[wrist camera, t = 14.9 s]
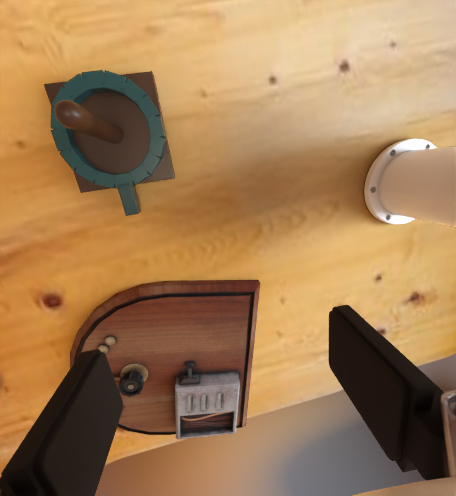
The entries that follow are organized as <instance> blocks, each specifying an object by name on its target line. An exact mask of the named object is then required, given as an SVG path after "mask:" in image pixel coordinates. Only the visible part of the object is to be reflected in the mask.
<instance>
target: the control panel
mask: <svg viewBox="0 0 456 496" xmlns="http://www.w3.org/2000/svg"><path fill="white" fill-rule="evenodd" d="M259 289H260V282H259V280H216V281H164V282H156V283H149V284H141V285H138V286H136V287H133V288H130V289H128V290H125V291H123V292H120V293H117V294H115V295H114V296H113V297H111V298H110V299H108V300H107V301H106V302H104V303H103V304H101V305H100V306H99V307H97V308H96V309H95V310H94V311H93V312H92V314H91V315H90V316H89V318H88V319H87V320H86V321H85V323H84V324H83V325H82V326H81V328H80V329H79V331H78V332H77V335H76V338H75V341H74V343H73V346H72V349H71V352H70V369H71V367H72V366H73V364H74V363H75V361H76V360H77V358H78V357H79V355H80V354H81V353H82V352H84V351H90V350H95V349H99V350H100V351H101V352H104V353H105V354H106V357H107V360H108V362H109V365H110V368H111V370H112V373H113V376H114V379H115V381H116V384H117V387H118V389H119V392H120V395H121V397H122V400H123V410H122V414H121V417H120V420H119V423H118V427H120V428H123V429H125V430H127V431H132V432H137V433H143V434H148V435H171V434H176V438H177V439H187V438H196V437H205V436H215V435H224V434H234V433H235V432H236V428H240V427H244V426H245V425H246V418H247V408H248V398H249V388H250V378H251V368H252V358H253V348H254V338H255V329H256V319H257V309H258V299H259Z"/></svg>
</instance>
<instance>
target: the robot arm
mask: <svg viewBox="0 0 456 496" xmlns="http://www.w3.org/2000/svg"><path fill="white" fill-rule="evenodd" d="M364 195H365V201H366V205H367V207H368V209H369V211H370V212H371V214H372V215H373V216H374V217H375V218H377V219H378V220H380V221H383V222H385V223H390V224H404V223H408V222H410V221H413V220H415V219H419V220H423V221H428V222H433V223H437V224H442V225H447V226H451V227H456V146H450V147H440V148H437V147H436V146H434V145H433V144H432V143H431V142H429V141H426V140H423V139H407V140H402V141H399V142H397V143H394V144H393V145H391V146H389V147H388V148H386V149H385V150H384V151H383V152H382V153H381V154H380V155H379V156H378V157H377V158H376V160H375V161H374V163H373V164H372V166H371V167H370V170H369V172H368V174H367V178H366V182H365V189H364ZM329 365H330V368H331V370H332V372H333V373H334V375H335V376H336V378H337V379H338V381H339V383H340V384H341V386H342V387H343V389H344V390H345V392H346V393H347V395H348V396H349V398H350V400H351V401H352V403H353V404H354V406H355V407H356V409H357V410H358V412H359V413H360V415H361V416H362V418H363V420H364V421H365V422H366V424H367V426H368V427H369V429H370V430H371V432H372V433H373V435H374V437H375V438H376V440H377V441H378V443H379V444H380V446H381V447H382V449H383V450H384V452H385V454H386V455H387V456H388V458H389V459H390V460H392V461H396V463H397V464H398V466H399V467H400V469H401V470H402V472H406V471H411V470H416V469H417V470H418V472H419V473H420V474H421V476H422V477H423V478H424V479H425V480H426V481H421V482H416V483H410V484H405V485H400V486H395V487H390V488H385V489H379V490H375V491H370V492H365V493H360V494H356V495H351V496H456V390H450V391H447V392H443V391H442V390H441V389H440V388H439V387H438V386H437V385H435V384H434V383H433V382H432V381H431V380H430V379H429V378H428V377H427V376H426V375H425V374H424V373H422V372H421V371H420V370H419V369H418V368H417V367H416V366H415V365H414V364H413V363H412V362H411V361H409V360H408V359H407V358H406V357H405V356H404V355H403V354H402V353H401V352H400V351H399V350H397V349H396V348H395V347H394V346H393V345H392V344H391V343H390V342H389V341H388V340H387V339H385V338H384V337H383V336H382V335H380V334H379V333H378V332H377V331H376V330H375V329H374V328H373V327H372V326H371V325H370V324H368V323H367V322H366V321H365V320H364V319H363V318H362V317H361V316H360V315H359V314H358V313H357V312H355V311H354V310H353V309H352V308H351V307H350V306H349V305H343V306H338V307H334V308H333V309H332V311H330V313H329ZM122 410H123V400H122V397H121V395H120V392H119V389H118V387H117V384H116V381H115V379H114V376H113V373H112V370H111V368H110V365H109V362H108V360H107V357H106V354H105V353H104V352H101V351H100V350H99V349H95V350H90V351H84V352H82V353H81V354H80V355H79V357H78V358H77V360H76V361H75V363H74V364H73V366H72V367H71V369H70V370H69V372H68V373H67V375H66V376H65V378H64V379H63V381H62V382H61V384H60V385H59V387H58V388H57V390H56V391H55V393H54V394H53V396H52V397H51V399H50V401H49V402H48V404H47V405H46V407H45V408H44V410H43V411H42V413H41V414H40V416H39V417H38V419H37V420H36V422H35V423H34V425H33V426H32V428H31V429H30V431H29V432H28V434H27V435H26V437H25V438H24V440H23V441H22V443H21V444H20V446H19V448H18V449H17V451H16V452H15V454H14V455H13V457H12V458H11V460H10V461H9V463H8V464H7V466H6V467H5V469H4V470H3V472H2V473H1V474H2V476H1V478H0V496H95V493H96V490H97V487H98V484H99V481H100V477H101V474H102V471H103V468H104V465H105V462H106V459H107V456H108V453H109V450H110V447H111V444H112V441H113V438H114V435H115V432H116V429H117V426H118V423H119V420H120V417H121V414H122Z"/></svg>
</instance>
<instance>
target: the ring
mask: <svg viewBox="0 0 456 496" xmlns="http://www.w3.org/2000/svg"><path fill="white" fill-rule="evenodd" d="M63 86H64V87H65V88H66V89H65V88H63V87H62V86H61V88H60V90H59V92H58V94H57V95H56V97H55V99H54V101H53V103H52V105H53V106H56V104H57V103H58V102H60V101H62V100H70V101H73V102H75V103H77V104H78V105H80V104H81V102H82V101H84V100H85V99H86V98H88V97H89V96H91V95H92V94H95V93H103V92H112V93H116V94H119V95H122V96H126V97H127V98H128V99H130V100H131V101H132V102H134V103H135V104H136V105H137V106H139V108H140V110H141V111H142V113H143V114H144V116H145V117H146V119H147V122H148V127H149V131H150V136H151V137H150V144H149V151H148V153H147V155H146V157H145V158H144V160H143V161H142V163H141V165H139V166H138V167H136V168H134V169H133V170H131V171H130V172H128V173H122V174H112V173H108V172H104V171H101V170H100V169H98V168H97V167H95V166H94V165H92V164H91V163H89V162H88V161H87V160H86V158H85V157H84V156H83V155H82V153H81V152H80V151H79V149H78V147H77V144H76V141H75V138H74V135H73V130H72V129H69V128H67V127H65V126H63V125H62V124H61V123H60V122H59V121H58V120H57V118H56V116H55V107H51V128H52V129H56V130H51V132H52V135H53V138H54V141H55V144H56V146H57V149H58V151H61V152H60V154H61V156H62V157H63V158H64V159H65V161H66V162H67V163H68V164H69V166H70V167H71V168H72V169H73V170H76V171H75V172H76V173H77V174H79V175H81V176H82V177H84V178H85V179H87V180H88V181H90V182H91V183H94V184H97V185H101V186H105V187H110V188H118V190H119V193H120V197H121V200H122V204H123V207H124V211H125V214H126V216H128V215H134V214H138V213H140V212H141V210H140V207H139V203H138V199H137V195H136V192H135V188H134V185H136V184H139V183H141V182H142V181H144V180H145V179H147V178H148V177H150V176H151V174H153V173H154V172H155V170H156V169H157V167H158V166H159V164H160V163H161V161H162V159H161V158H163V155H164V149H165V143H166V139H165V138H166V136H165V131H164V126H163V122H162V118H161V117H160V116H161V115H160V114H159V112H158V111H157V109H156V107H155V106H154V104H153V102H152V101H151V99H150V97H149V96H148V95H147V94H146V92H145V91H143V90H142V89H141V88H140V87H138V86H137V85H136V84H135V83H133V82H132V81H131V80H130V79H127V78H126V77H124V76H121V75H118V74H115V73H112V72H109V71H106V70H105V73H104V71H103V70H99V71H91V72H82V75H81V74H78V75H76V76H75V77H74V78H72V79H71V80H69V81H68V82H66V83H65V84H63ZM160 157H161V158H160Z"/></svg>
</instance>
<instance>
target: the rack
mask: <svg viewBox="0 0 456 496" xmlns="http://www.w3.org/2000/svg"><path fill="white" fill-rule="evenodd" d="M121 76H124V77H126V78H127V79H130V80H131V81H132V82H133V83H135V84H136V85H137V86H138V87H140V88H141V89H142V90H143V91H145V92H146V94H147V95H148V96H149V97H150V99H151V101H152V102H153V104H154V106H155V107H156V109H157V111H158V112H159V114H160V115H161V116H160V117H161V118H162V122H163V117H162V113H161V108H160V103H159V98H158V94H157V89H156V84H155V79H154V75H153V73H152V71H151V72H143V73H134V74H126V75H121ZM67 82H68V81H67ZM65 83H66V82H59V83H51V84H44V86H45V89H46V92H47V95H48V98H49V100H50V103H51V106H52V107H55V116H56V118H57V120H58V121H59V122H60V123H61V124H62V125H63V126H65V127H67V128H69V129H72V130H73V135H74V138H75V141H76V144H77V147H78V149H79V151H80V152H81V153H82V155H83V156H84V157H85V158H86V160H87V161H88V162H89V163H91V164H92V165H94V166H95V167H97V168H98V169H100V170H101V171H104V172H108V173H112V174H122V173H128V172H130V171H131V170H133V169H134V168H136V167H138V166H139V165H141V163H142V161H143V160H144V158H145V157H146V155H147V153H148V151H149V144H150V137H151V136H150V131H149V127H148V122H147V119H146V117H145V116H144V114H143V113H142V111H141V110H140V108H139V106H137V105H136V104H135V103H134V102H132V101H131V100H130V99H128V98H127V97H126V96H122V95H119V94H116V93H112V92H103V93H95V94H92V95H91V96H89V97H88V98H86V99H85V100H84V101H82V102H81V104H80V105H78V104H77V103H75V102H73V101H70V100H62V101H60V102H58V103H57V104H56V106H53V105H52V103H53V101H54V99H55V97H56V95H57V94H58V92H59V90H60V88H61V86H62V87H63V88H65V87H64V86H63V84H65ZM65 89H66V88H65ZM163 126H164V122H163ZM164 131H165V127H164ZM165 136H166V132H165ZM165 139H166V143H165V149H164V155H163V158H161V157H160V158H161V159H162V161H161V163H160V164H159V166H158V167H157V169H156V170H155V172H154V173H153V174H151V176H150V177H148V178H147V179H145V180H144V181H142V182H141V183H147V182H153V181H159V180H166V179H172V178H175V174H174V170H173V165H172V160H171V155H170V151H169V146H168V141H167V136H166V138H165ZM73 171H74V174H75V177H76V180H77V183H78V185H79V188H80V191H81V193H83V192H89V191H96V190H102V189H108V188H110V187H105V186H101V185H97V184H94V183H91V182H90V181H88V180H87V179H85V178H84V177H82V176H81V175H79V174H77V173H76V172H75V171H76V170H73ZM139 184H140V183H139Z"/></svg>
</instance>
